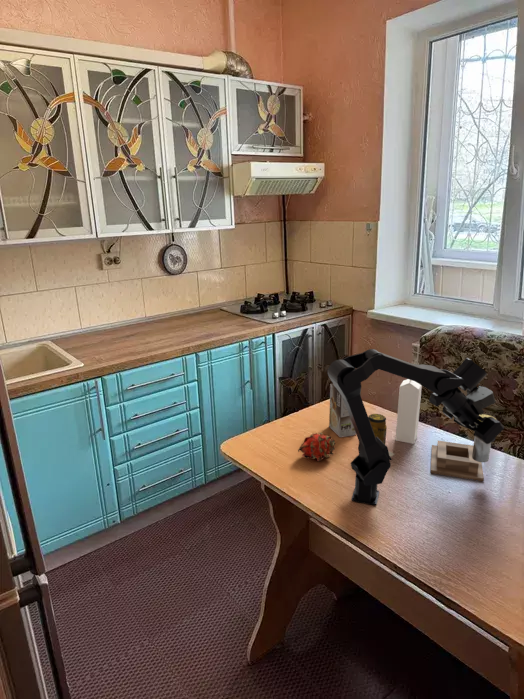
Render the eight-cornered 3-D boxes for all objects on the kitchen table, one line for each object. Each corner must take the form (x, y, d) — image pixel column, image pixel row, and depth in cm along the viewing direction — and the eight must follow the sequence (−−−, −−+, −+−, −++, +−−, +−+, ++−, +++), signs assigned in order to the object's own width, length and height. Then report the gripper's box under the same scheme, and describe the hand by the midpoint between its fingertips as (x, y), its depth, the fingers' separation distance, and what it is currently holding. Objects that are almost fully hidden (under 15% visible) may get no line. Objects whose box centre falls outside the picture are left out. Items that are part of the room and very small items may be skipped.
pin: (493, 464, 132) (499, 423, 129) (471, 462, 133) (477, 421, 130) (488, 454, 137) (494, 415, 134) (467, 452, 138) (473, 413, 135)
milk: (395, 440, 160) (399, 377, 154) (398, 433, 166) (403, 371, 159) (414, 444, 158) (419, 379, 151) (417, 436, 163) (422, 373, 157)
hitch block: (483, 481, 137) (485, 468, 135) (430, 473, 141) (431, 460, 140) (479, 454, 151) (481, 443, 150) (431, 447, 155) (432, 436, 154)
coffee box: (357, 435, 164) (359, 390, 160) (339, 437, 162) (341, 392, 158) (344, 423, 173) (346, 381, 168) (327, 426, 171) (329, 383, 166)
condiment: (373, 444, 158) (375, 410, 154) (395, 454, 152) (398, 419, 148) (358, 451, 153) (360, 416, 150) (380, 462, 147) (383, 425, 144)
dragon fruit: (338, 461, 151) (301, 470, 149) (328, 436, 156) (292, 445, 154) (342, 449, 144) (303, 459, 142) (332, 424, 149) (294, 433, 147)
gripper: (502, 393, 119) (534, 429, 124) (456, 368, 136) (486, 401, 142) (470, 426, 119) (503, 461, 125) (428, 397, 137) (458, 429, 142)
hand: (487, 436), depth 134 cm, fingers closed on pin, 5 cm apart
